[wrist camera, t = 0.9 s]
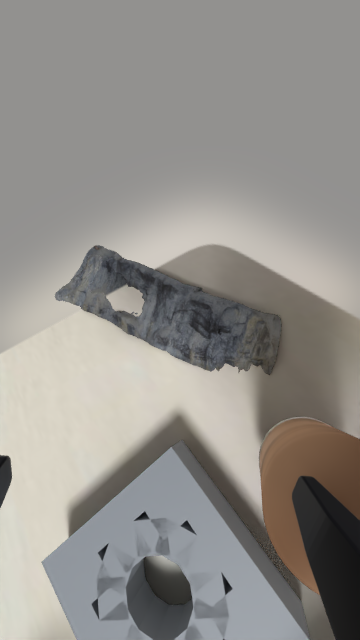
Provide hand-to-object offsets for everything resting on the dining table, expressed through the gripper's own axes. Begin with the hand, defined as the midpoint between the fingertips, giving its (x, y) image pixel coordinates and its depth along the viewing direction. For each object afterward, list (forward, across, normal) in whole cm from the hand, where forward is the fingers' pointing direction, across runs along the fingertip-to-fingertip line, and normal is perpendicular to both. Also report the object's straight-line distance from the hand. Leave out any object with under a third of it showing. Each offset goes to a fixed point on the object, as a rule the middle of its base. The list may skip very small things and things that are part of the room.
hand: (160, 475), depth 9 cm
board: (+6, -3, +16) cm, 17 cm away
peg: (+8, -10, +7) cm, 15 cm away
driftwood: (+18, 0, +1) cm, 18 cm away
